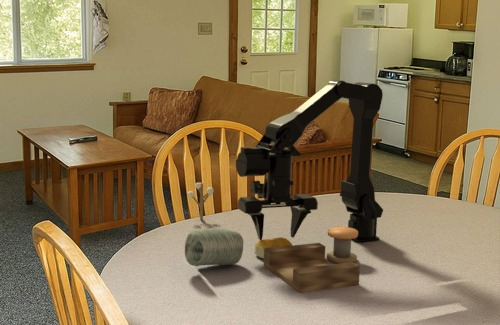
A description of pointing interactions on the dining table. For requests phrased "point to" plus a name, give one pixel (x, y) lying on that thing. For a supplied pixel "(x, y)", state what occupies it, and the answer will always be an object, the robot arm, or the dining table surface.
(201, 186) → the cotton branch
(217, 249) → the spool
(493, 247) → the dining table surface
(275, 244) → the bread roll
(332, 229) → the orange capped knob
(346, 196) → the robot arm
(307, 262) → the notch board
